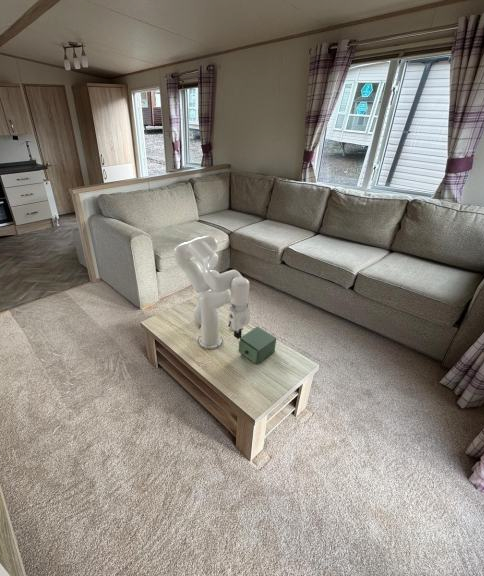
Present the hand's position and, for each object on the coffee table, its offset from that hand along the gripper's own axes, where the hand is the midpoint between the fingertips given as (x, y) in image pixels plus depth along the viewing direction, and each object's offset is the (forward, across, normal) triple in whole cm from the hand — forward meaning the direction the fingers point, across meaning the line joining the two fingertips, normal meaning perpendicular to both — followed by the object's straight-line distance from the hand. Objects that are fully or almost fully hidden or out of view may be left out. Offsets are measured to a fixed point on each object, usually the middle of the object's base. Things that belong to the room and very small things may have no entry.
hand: (237, 336), depth 140 cm
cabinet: (+19, +16, 0) cm, 25 cm away
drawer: (+18, +14, 0) cm, 23 cm away
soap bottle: (+19, +13, +37) cm, 44 cm away
